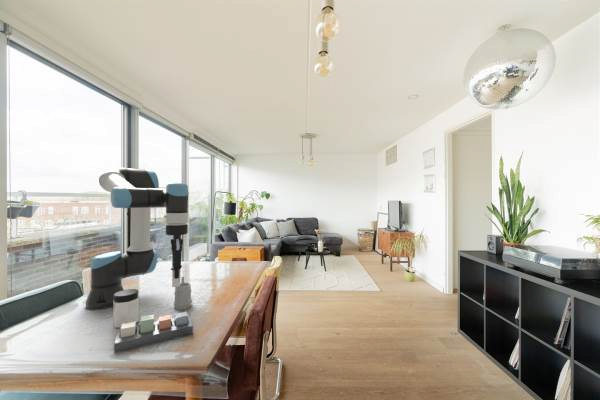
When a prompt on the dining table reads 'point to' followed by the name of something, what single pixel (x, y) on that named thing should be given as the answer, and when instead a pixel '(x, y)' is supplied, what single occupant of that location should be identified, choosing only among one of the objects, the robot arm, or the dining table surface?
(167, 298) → the dining table surface
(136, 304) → the jar
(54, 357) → the dining table surface
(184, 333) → the key panel
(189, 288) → the mug
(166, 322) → the key coral
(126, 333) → the key ivory
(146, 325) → the key sage
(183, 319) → the key slate
